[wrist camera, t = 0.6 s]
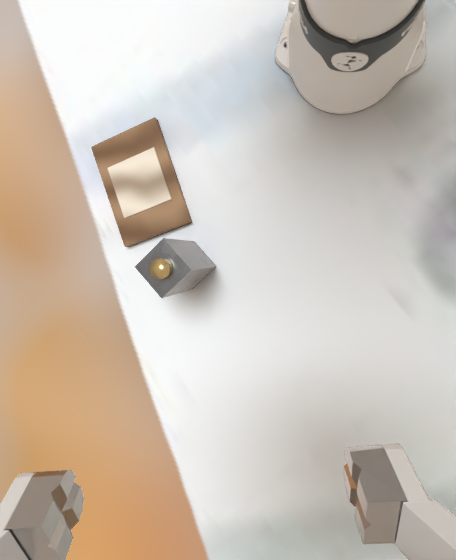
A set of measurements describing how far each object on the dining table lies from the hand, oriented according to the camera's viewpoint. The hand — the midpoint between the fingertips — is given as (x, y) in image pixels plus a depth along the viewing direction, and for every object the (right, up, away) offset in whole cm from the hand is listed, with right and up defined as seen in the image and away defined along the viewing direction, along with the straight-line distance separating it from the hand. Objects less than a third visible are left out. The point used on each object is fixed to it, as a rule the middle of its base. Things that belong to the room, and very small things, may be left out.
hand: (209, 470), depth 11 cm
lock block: (-5, +8, +43) cm, 44 cm away
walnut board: (-12, +20, +44) cm, 50 cm away
